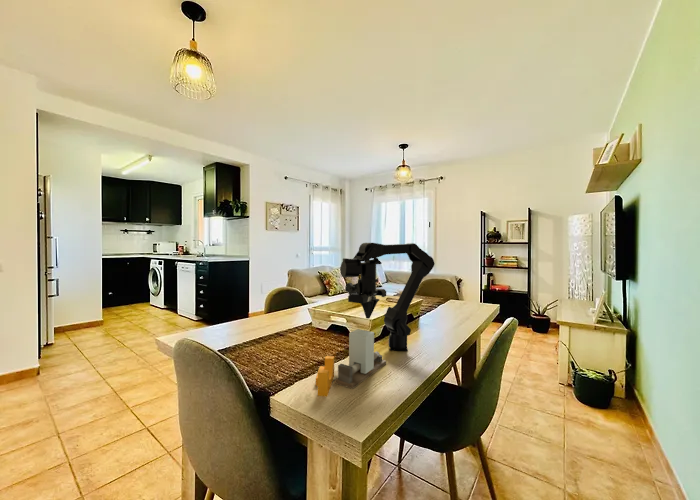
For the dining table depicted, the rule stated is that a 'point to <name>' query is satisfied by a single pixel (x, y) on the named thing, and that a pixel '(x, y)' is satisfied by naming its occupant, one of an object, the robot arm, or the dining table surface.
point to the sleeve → (361, 349)
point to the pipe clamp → (325, 376)
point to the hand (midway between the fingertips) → (367, 318)
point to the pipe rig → (357, 372)
